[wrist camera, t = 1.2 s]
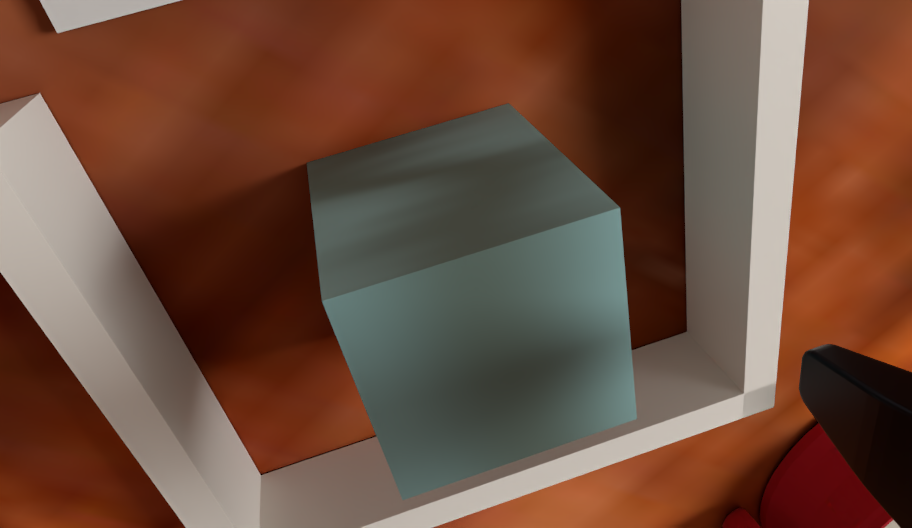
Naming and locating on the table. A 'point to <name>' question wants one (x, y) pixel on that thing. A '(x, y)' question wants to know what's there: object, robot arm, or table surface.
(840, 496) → the alarm clock
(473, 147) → the teal block
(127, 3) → the grey mat
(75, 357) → the white u-shaped frame
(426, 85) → the table surface
